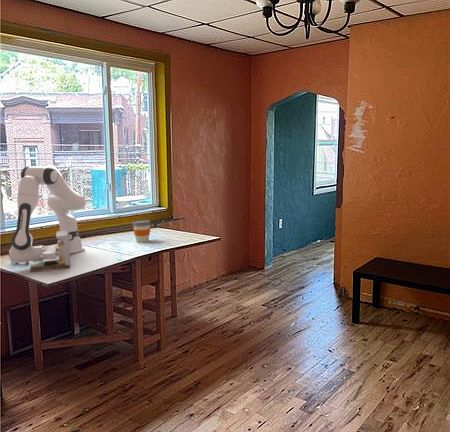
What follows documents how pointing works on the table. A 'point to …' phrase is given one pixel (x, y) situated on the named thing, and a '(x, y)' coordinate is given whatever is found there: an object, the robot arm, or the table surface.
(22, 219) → the robot arm
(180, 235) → the table surface
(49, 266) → the walnut board
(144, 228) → the reusable coffee cup
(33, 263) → the sage pad
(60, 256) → the beech block
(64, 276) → the table surface
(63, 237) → the grey tunnel
